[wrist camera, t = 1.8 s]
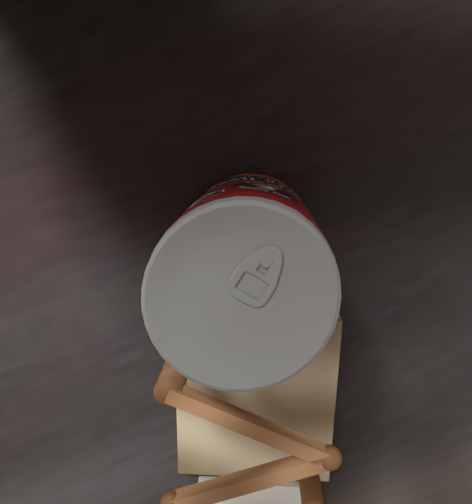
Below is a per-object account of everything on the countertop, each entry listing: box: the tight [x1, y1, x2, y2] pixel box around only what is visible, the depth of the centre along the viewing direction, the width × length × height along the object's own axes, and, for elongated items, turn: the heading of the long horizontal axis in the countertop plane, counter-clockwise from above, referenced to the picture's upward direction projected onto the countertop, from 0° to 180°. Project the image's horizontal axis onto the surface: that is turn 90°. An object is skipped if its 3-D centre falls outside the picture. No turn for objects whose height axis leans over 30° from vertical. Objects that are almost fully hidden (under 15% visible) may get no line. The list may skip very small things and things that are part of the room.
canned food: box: [141, 173, 342, 392], centre depth 22 cm, size 8×8×11 cm
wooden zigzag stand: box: [153, 315, 343, 504], centre depth 26 cm, size 12×10×8 cm
